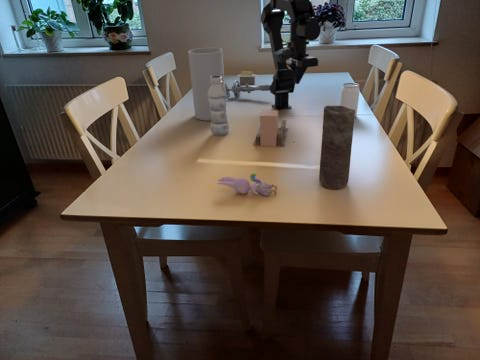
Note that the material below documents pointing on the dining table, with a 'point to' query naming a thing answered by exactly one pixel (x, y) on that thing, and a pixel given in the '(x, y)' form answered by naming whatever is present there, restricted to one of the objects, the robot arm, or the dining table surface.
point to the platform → (247, 77)
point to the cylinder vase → (204, 77)
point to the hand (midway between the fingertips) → (297, 83)
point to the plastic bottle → (218, 107)
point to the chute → (280, 139)
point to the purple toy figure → (248, 185)
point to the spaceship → (244, 88)
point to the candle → (336, 146)
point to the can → (350, 96)
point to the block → (268, 128)
